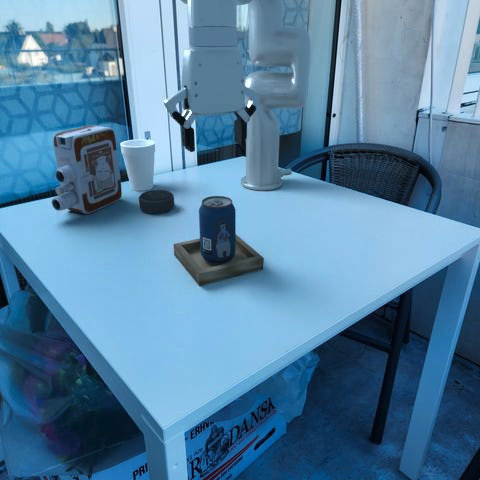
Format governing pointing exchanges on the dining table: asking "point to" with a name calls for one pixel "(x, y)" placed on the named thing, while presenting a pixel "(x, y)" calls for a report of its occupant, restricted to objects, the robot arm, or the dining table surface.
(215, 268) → the taupe tray
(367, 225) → the dining table surface
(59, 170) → the cine camera
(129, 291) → the dining table surface
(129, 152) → the foam cup
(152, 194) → the smart speaker
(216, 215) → the soda can
